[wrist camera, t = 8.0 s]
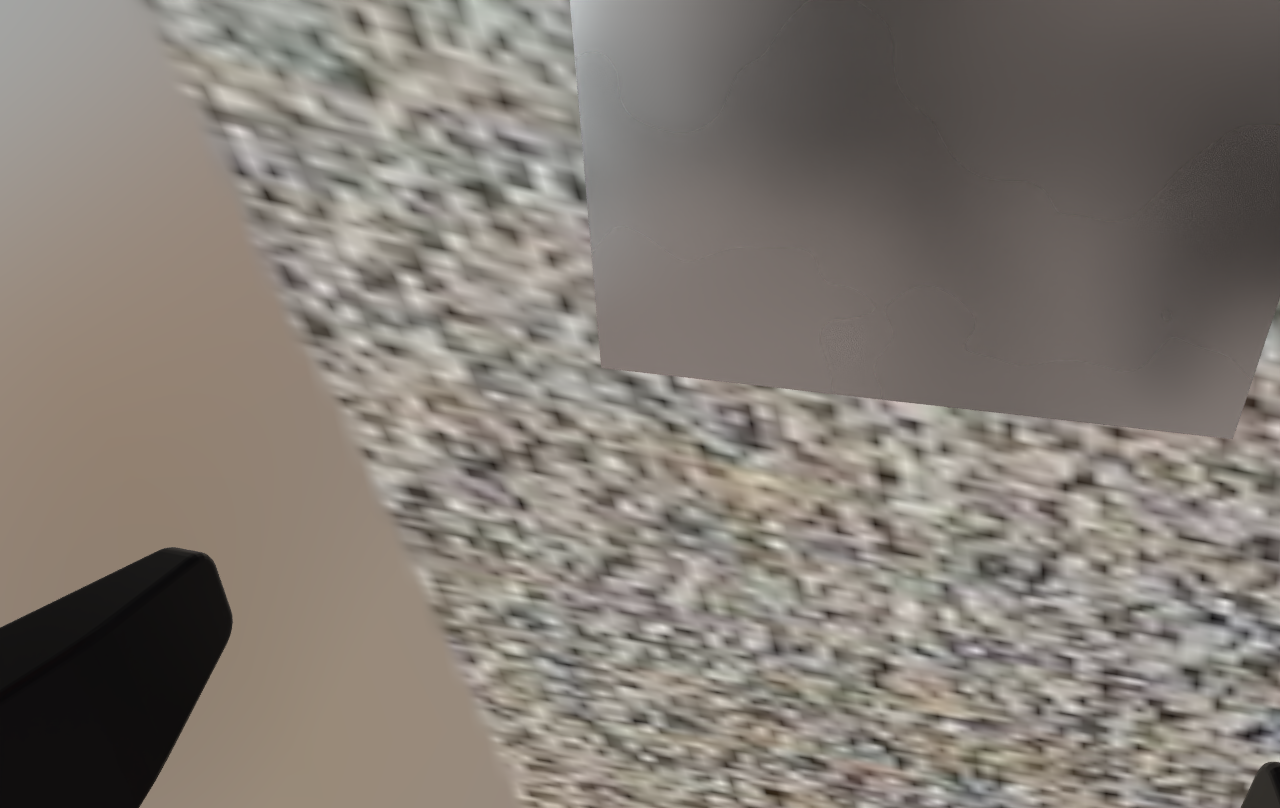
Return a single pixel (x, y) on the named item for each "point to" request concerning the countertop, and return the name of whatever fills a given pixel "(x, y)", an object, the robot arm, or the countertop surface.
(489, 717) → the countertop surface
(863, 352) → the brushed metal cube
